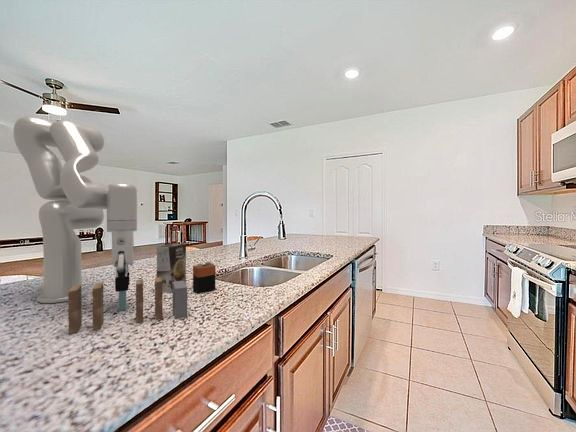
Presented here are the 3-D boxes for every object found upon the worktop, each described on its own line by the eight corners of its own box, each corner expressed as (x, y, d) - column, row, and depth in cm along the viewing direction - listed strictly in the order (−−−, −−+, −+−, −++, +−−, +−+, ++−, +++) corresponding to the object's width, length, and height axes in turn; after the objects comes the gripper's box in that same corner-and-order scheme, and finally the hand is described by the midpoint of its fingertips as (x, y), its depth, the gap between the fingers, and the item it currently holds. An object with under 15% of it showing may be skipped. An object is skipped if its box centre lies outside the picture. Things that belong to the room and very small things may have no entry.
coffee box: (172, 292, 95) (172, 246, 94) (155, 291, 96) (155, 245, 96) (186, 285, 104) (186, 243, 103) (171, 284, 105) (171, 243, 105)
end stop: (175, 318, 72) (175, 288, 72) (172, 309, 79) (172, 281, 79) (187, 316, 73) (187, 287, 73) (183, 307, 80) (183, 280, 80)
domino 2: (92, 330, 64) (92, 288, 64) (95, 322, 69) (95, 283, 69) (100, 329, 65) (100, 287, 65) (103, 321, 70) (103, 283, 69)
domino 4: (136, 323, 69) (135, 284, 69) (136, 316, 73) (136, 279, 73) (143, 322, 69) (143, 283, 69) (143, 315, 74) (143, 279, 74)
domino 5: (155, 320, 71) (155, 282, 71) (155, 313, 75) (154, 277, 75) (162, 319, 72) (162, 281, 71) (161, 312, 76) (161, 277, 76)
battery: (216, 290, 98) (216, 262, 98) (198, 294, 93) (198, 265, 93) (209, 287, 101) (209, 260, 101) (192, 291, 96) (192, 263, 96)
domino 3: (118, 311, 77) (118, 276, 77) (120, 305, 82) (119, 272, 81) (125, 310, 78) (125, 275, 78) (126, 304, 82) (126, 271, 82)
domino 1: (68, 334, 62) (68, 291, 62) (73, 326, 67) (73, 286, 67) (77, 333, 63) (77, 290, 63) (81, 325, 67) (81, 285, 67)
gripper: (136, 227, 74) (136, 294, 74) (137, 224, 89) (137, 280, 89) (103, 228, 70) (103, 298, 70) (110, 225, 85) (110, 283, 85)
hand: (122, 287), depth 80 cm, fingers closed on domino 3, 4 cm apart
